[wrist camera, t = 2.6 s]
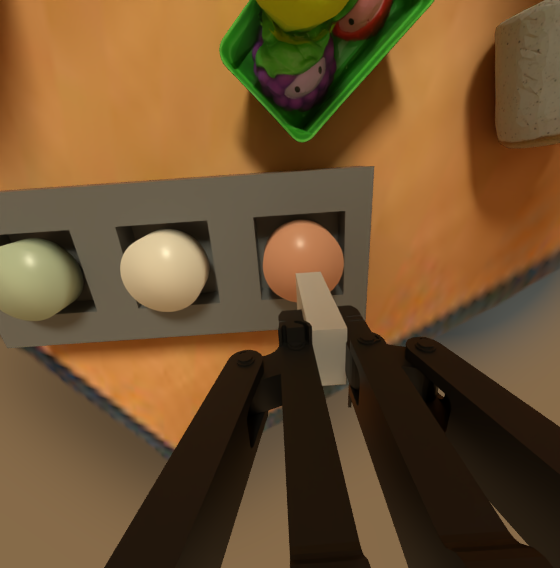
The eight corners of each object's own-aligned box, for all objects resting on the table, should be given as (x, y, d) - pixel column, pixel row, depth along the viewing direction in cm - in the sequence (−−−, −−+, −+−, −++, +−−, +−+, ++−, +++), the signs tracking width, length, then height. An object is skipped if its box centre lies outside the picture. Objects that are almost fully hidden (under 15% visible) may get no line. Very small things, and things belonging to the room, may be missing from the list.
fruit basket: (297, 152, 24) (316, 143, 14) (212, 62, 21) (156, -34, 11) (407, 26, 21) (542, -109, 11) (323, -95, 18) (391, -430, 8)
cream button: (126, 231, 23) (109, 239, 20) (203, 226, 23) (195, 233, 20) (145, 300, 25) (132, 314, 23) (214, 295, 25) (208, 309, 23)
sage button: (-8, 240, 23) (-40, 249, 20) (69, 235, 23) (45, 243, 20) (23, 308, 25) (-2, 323, 23) (93, 303, 25) (74, 318, 23)
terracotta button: (260, 222, 23) (259, 228, 20) (337, 216, 23) (344, 222, 20) (266, 292, 25) (266, 305, 23) (336, 287, 25) (343, 300, 23)
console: (-19, 192, 24) (-70, 197, 21) (358, 166, 24) (374, 166, 21) (40, 325, 29) (7, 348, 26) (353, 303, 29) (365, 323, 26)
